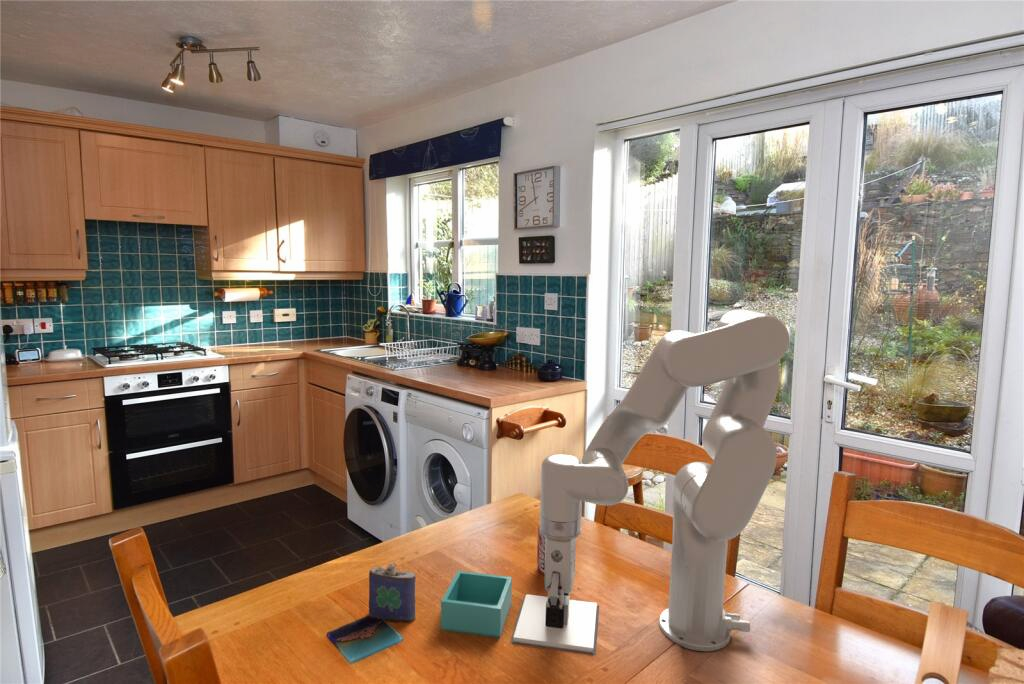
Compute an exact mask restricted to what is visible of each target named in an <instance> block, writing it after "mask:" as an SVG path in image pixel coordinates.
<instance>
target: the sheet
mask: <svg viewBox="0 0 1024 684" xmlns="http://www.w3.org/2000/svg"><path fill="white" fill-rule="evenodd" d="M525 596H526V597H525V600H524V603H523V607H522V610H521V614H520V617H519V620H518V624H517V627H516V630H515V634H514V637H513V641H514V642H522V643H529V644H536V645H543V646H550V647H558V648H565V649H572V650H579V651H587V652H593V647H594V635H595V622H596V609H597V605H598V602H593V601H592V602H591V601H586V600H585V601H584V600H576V599H570V595H569V596H565V595H564V597H563V606H564V626H563V628H562V629H560V628H553V627H547V626H546V625H545V621H546V604H547V597H548V596H545V595H544V596H542V595H536V594H526V595H525ZM558 598H559V600H560V595H558Z"/></svg>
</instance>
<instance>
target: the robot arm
mask: <svg viewBox="0 0 1024 684" xmlns="http://www.w3.org/2000/svg"><path fill="white" fill-rule="evenodd" d="M790 341H791V340H790V333H789V330H788V327H787V326H786V325H785V324H784V323H783V322H782V321H781V320H780V319H779V318H777V317H775V316H774V315H771V314H767V313H763V312H758V311H755V310H748V309H734V310H731V311H727V312H726V313H725V314H724V315H723V316H722V317H721V318H720V319H719V320H718V323H717V325H716V328H714V329H712V330H708V331H704V332H699V333H694V332H690V331H687V330H676V329H675V330H672V331H670V332H667V333H666V334H664V335H663V336H662V337H661V338H660V339H659V341H658V342H657V344H656V345H655V346H654V348H653V350H652V351H651V353H650V355H649V357H648V358H647V360H646V362H645V364H644V365H643V367H642V368H641V369H640V372H639V373H638V375H637V377H636V378H635V380H634V382H633V383H632V385H631V386H630V388H629V389H628V391H627V393H626V394H625V396H624V397H623V399H622V400H621V401H620V402H619V403H618V405H616V407H615V408H614V409H613V411H612V412H611V413H610V414H609V415H608V416H606V419H605V420H603V422H602V424H601V425H600V427H599V428H598V430H597V431H596V433H595V435H594V437H593V438H592V439H591V441H590V442H589V445H588V446H587V448H586V450H585V452H584V453H583V455H582V458H581V460H580V459H579V458H578V457H577V456H574V455H571V454H563V453H558V454H557V453H556V454H551V455H549V456H548V455H547V456H546V457H545V458H544V459H543V460H542V463H541V468H540V470H541V471H540V503H539V505H540V506H539V507H540V508H539V525H540V533H541V534H542V535H543V536H545V537H546V539H545V575H544V590H545V591H546V592H547V596H546V597H547V604H546V621H545V625H546V626H547V627H553V628H560V629H562V628H563V626H564V606H563V597H564V595H565V596H569V597H570V594H571V593H572V592H573V589H574V581H575V575H576V545H577V544H576V541H577V540H576V539H577V538H578V537H579V536H580V535H581V534H582V511H583V510H582V508H583V506H582V505H583V502H585V503H589V504H594V505H600V506H607V507H608V506H614V505H617V504H619V503H621V502H622V501H623V500H625V498H626V497H627V494H628V492H629V486H630V485H629V480H628V476H627V475H626V473H625V470H624V468H623V464H624V462H625V460H626V459H627V457H628V456H629V454H630V452H631V451H632V449H633V447H635V445H636V444H637V443H638V442H639V440H640V439H641V438H643V437H644V436H645V435H646V434H648V433H650V432H653V431H657V430H659V429H661V428H662V427H665V426H666V425H667V423H668V422H669V421H670V419H671V417H672V415H673V414H674V412H675V411H676V410H677V407H678V406H679V404H680V402H681V401H682V399H683V398H684V396H685V394H686V393H687V391H688V390H689V388H699V387H705V386H709V385H713V384H717V383H720V382H723V381H724V382H725V383H724V385H723V388H722V391H721V393H720V395H719V398H718V399H717V401H716V403H715V405H714V407H713V409H712V411H711V414H710V416H709V417H708V419H707V421H706V423H705V426H704V428H703V430H702V433H701V443H702V447H703V448H704V451H705V452H706V453H707V454H708V455H709V457H710V458H711V459H712V462H711V464H710V463H708V462H705V461H693V462H689V463H687V464H685V465H683V466H682V467H681V468H680V469H679V470H678V472H677V473H676V475H675V477H674V479H673V482H672V487H671V490H672V491H671V492H672V493H671V501H672V544H671V557H670V558H671V561H670V575H669V577H670V578H669V579H670V580H669V591H668V592H669V593H668V597H669V598H668V608H666V609H664V610H663V611H662V612H661V613H660V615H659V618H658V625H659V628H660V630H661V632H662V633H663V635H665V637H667V638H668V639H669V640H671V641H672V642H674V643H676V644H677V645H679V647H682V648H684V649H688V650H690V651H691V650H692V651H697V652H713V651H718V650H720V649H723V648H725V647H726V646H727V645H728V644H729V642H730V640H731V632H732V631H738V632H741V633H742V632H743V633H750V632H751V622H750V620H745V619H741V614H740V613H738V612H727V610H725V609H724V601H725V587H726V586H725V584H726V574H727V573H726V569H727V556H728V543H729V540H732V539H734V538H736V537H737V536H739V535H740V534H741V533H742V532H743V531H744V530H745V528H746V527H747V526H748V524H749V523H750V521H751V519H752V517H753V515H754V514H755V512H756V509H757V508H758V505H759V503H760V501H761V499H762V498H763V495H764V493H765V492H766V489H767V487H768V485H769V483H770V481H771V479H772V477H773V475H774V472H775V469H776V466H777V461H778V460H777V459H778V450H777V449H778V448H777V444H776V442H775V440H774V438H773V436H771V434H770V433H769V432H768V431H767V430H766V429H765V428H764V426H765V424H766V421H767V419H768V418H769V415H770V412H771V410H772V407H773V405H774V403H775V400H776V397H777V394H778V391H779V387H780V379H781V378H780V377H781V376H780V366H779V361H780V360H781V359H782V358H783V357H784V356H785V355H786V353H787V352H788V349H789V346H790ZM558 595H560V600H559V598H558Z"/></svg>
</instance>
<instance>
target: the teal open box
mask: <svg viewBox="0 0 1024 684" xmlns="http://www.w3.org/2000/svg"><path fill="white" fill-rule="evenodd" d="M512 590H513V577H512V576H508V575H507V576H505V575H497V574H490V573H489V574H487V573H480V572H479V573H478V572H471V571H465V570H464V571H462V570H457V571H456V573H455V575H454V577H453V579H452V580H451V582H450V585H449V586H448V588H447V589H446V591H445V593H444V595H443V597H442V599H441V600H440V630H441V631H447V632H454V633H460V634H461V633H462V634H469V635H476V636H477V635H478V636H482V637H484V636H485V637H491V638H501V637H502V634H503V631H504V627H505V624H506V621H507V618H508V616H509V613H510V609H511V606H512V600H513V599H512V598H513V591H512Z"/></svg>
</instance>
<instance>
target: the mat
mask: <svg viewBox="0 0 1024 684" xmlns="http://www.w3.org/2000/svg"><path fill="white" fill-rule="evenodd" d="M525 597H526V595H525V596H523V599H522V602H521V605H520V609H519V612H518V615H517V619H516V622H515V625H514V629H513V632H512V634H511V639H510V641H509V643H510V644H516V645H522V646H530V647H537V648H544V649H550V650H557V651H564V652H565V651H566V652H573V653H579V654H587V655H594V656H596V655H597V643H598V630H599V616H600V614H599V613H600V605H598V604H597V609H596V622H595V635H594V647H593V652H587V651H579V650H572V649H565V648H558V647H550V646H543V645H536V644H529V643H522V642H514V641H513V637H514V634H515V630H516V627H517V624H518V620H519V617H520V614H521V610H522V607H523V603H524V600H525Z"/></svg>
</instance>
